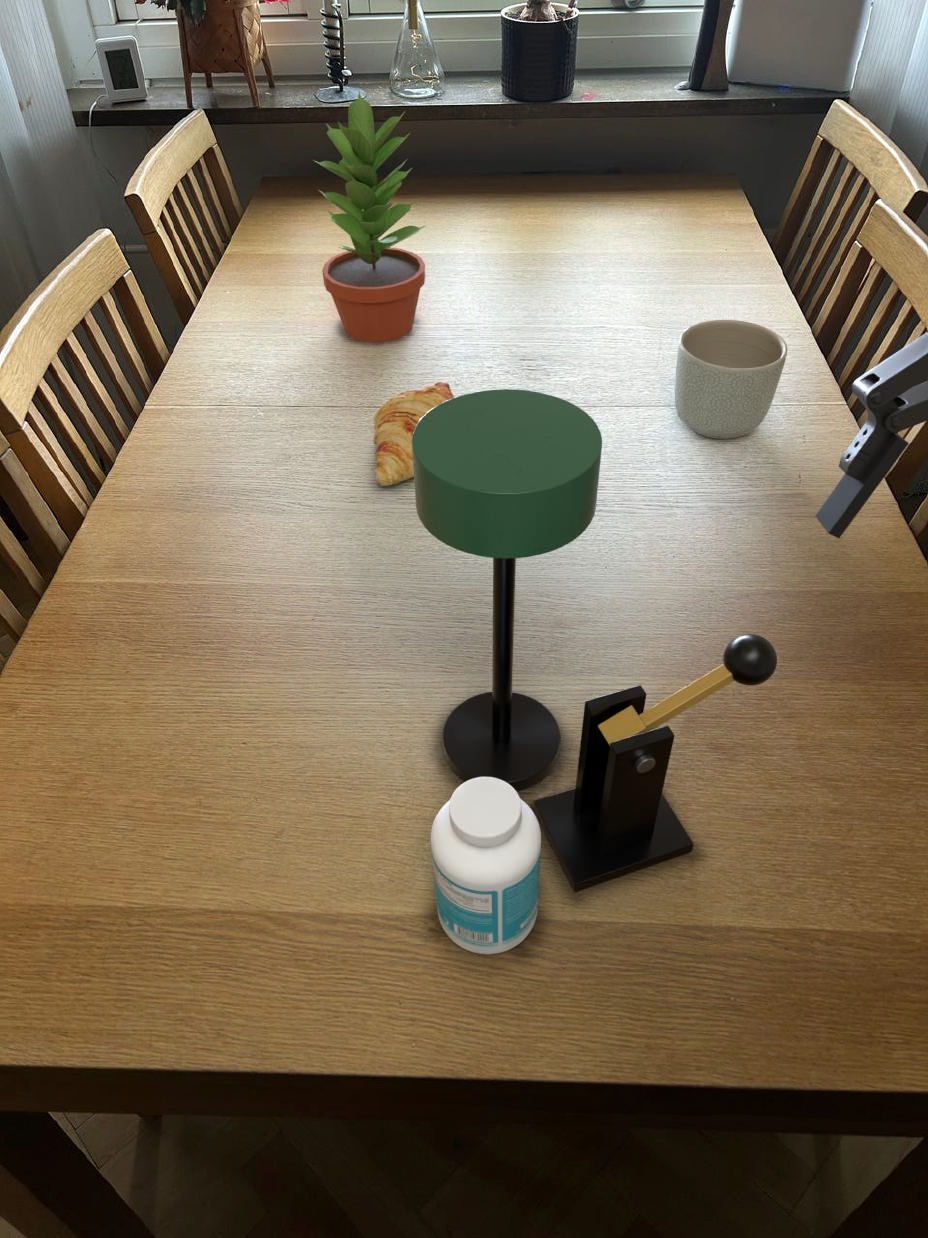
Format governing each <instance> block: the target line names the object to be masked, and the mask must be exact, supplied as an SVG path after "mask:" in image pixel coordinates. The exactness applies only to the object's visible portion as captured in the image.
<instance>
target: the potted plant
mask: <svg viewBox="0 0 928 1238" xmlns="http://www.w3.org/2000/svg"><path fill="white" fill-rule="evenodd" d="M405 113H406V111H403V112H402V114H401V115H400V116H397V115H396V116H391V117H389V118H388V119H386V121H385V122H384V123H383V124H381V127H380V128H379V129H378V130H377V131H376V133H375V122H374V121H375V119H374V113H373V109H372V106H371V104H370V102H369V101H367V100H365V99H363V97H362V95H361V91H358V96H357V99H355V100H353V101H352V102H351V103H350V104H349V106H348V112H347V115H348V116H347V118H348V119H347V120H348V121H347V122H348V127H345V126H344V125H342V123H340V121H337V124H338V128H332V127H331V126H330V125H329V124H328V123H325V124H326V126H327V129H328V131H327V136H328V138H329V139H330V141H331V142H332V143H333V145H334V146H335V147H336V149H337V150H338V152H339V153H340V155H341V157H342V159H341V160H340V161H338V163H337V162H334V161H330V160H323V161H320V162H319V161H316V160H314V159H312V161H313V162H315V163H317V164H319V165H320V166H321V167H323V168H325V169H327V170H328V171H330V172H331V173H333V174H335V175H337V176H339V177H340V178H342V179H344V182H345V184H344V186H345V187H344V189H345V192H346V195H347V196H348V198H347V197H346V196H344V195H342V194H340V193H338V192H335V191H327V192H323V191H321V190H320V189H318V192H319V193H320V194H322V195H323V196H324V197H325V198H326V199H327V201H330V202H331V203H332V204H334V205H335V206H336V208H339V209H340V210H341V211H343V212H344V213H343V212H340V213H333V212H331V211H330V210H327V212H328V213H329V214H330V220H331V221H332V222H333V223H334V224H336V225H337V226H338V227H339V228H340V229H341V230H343V231H344V232H345V233H346V234H347V235H349V237H350V240H351V242H352V246H353V247H354V248H352V247H349V246H346V245H339V246H338V248H339V249H340V250H341V249H342V250H345V251H343V252H340V253H339V254H336V255H334V256H332V257H330V258H329V259H328V260H327V261H326V262H324V265H323V267H322V270H321V271H322V281H323V285H324V288H325V290H326V292H328V293H329V294H330V295H331V297H332V300H333V302H334V303H333V304H334V306H335V308H336V310H337V313H338V317H339V318H340V321H341V323H342V326H343V328H344V331H345V334H346V335H348V336H349V337H350V338H352V339H355V340H357V341H359V342H367V343H384V342H385V343H386V342H392V341H395V340H398V339H401V338H403V337H404V336H406V335H409V334H410V332H411V331H412V329H413V327H414V321H415V316H416V311H417V306H418V301H419V297H420V293H421V288H422V287H423V286H424V285H425V284H426V283H425V282H426V263H425V262H424V260H423V259H422V257H421V256H419V255H417V254H416V253H414V252H413V251H409V250H406V249H403V248H399V247H398V248H397V247H392V246H395V245H397V244H399V243H400V242H402V241H404V240H406V239H408V238H410V237H413V236H415V235H416V234H417V233H419V232H420V231H421V230H422V229H423V228H425V227H427V224H426V225H422V226H420V227H418V226H416V225H407V226H403V227H400V228H399V229H396V230H394V231H392V232H390V233H388V234H386V235H384V234H385V233H386V232H388V231H389V230H391V228H392V227H393V226H394V225H395V224H397V223H398V222H399V221H400V220H401V219H403V218H404V216H406V215H407V213H409V212H410V211H411V210H412V206H413V205H414V203H415V202H416V199H415V200H413V201H412V202H410V203H396V204H395V202H396V200H395V201H393V202H392V201H391V199H392V198H393V196H394V195H395V194H396V192H397V191H398V190H399V188H400V187H401V186H402V181H403V180H404V179H405V178H406V177H407V175H408V174H409V173H410V172H411V170H413V167H410V168H409V169H408V170H406V171H402V170H401V171H400V169H401V168H402V167H403V166H404V165H405V162H407V159H406V160H404V161H403V162H402V163H401V164H400V165H399V166H397V167H396V168H395V169H393V170H392V171H391V172H390V173H389V174H388V175H387V176H386V177H385V178H384V179H383V180H381V182H379V184H377V183H378V175H377V169H379V168H380V167H381V165H383V163H384V162H385V161H386V160H387V159H388V158H389V157H390V156H391V155H392V154H393V153H394V152H395V151H396V150H397V149H398V148H399V147H400V145H401V144H402V143H403V142H404V141H405V140H406V139H407V138H408V136H409V135H410V134H411V132H409V133H408V134H407V135H405V136H404V137H403V136H394V137H392V138H391V139H390V140H388V141H386V139H387V138H388V137H389V135H390V134H391V133H392V131H393V130H394V128H395V127H396V125H397V124H398V122H400V120H401V119H402V117H403V116H404V114H405ZM385 141H386V143H384V142H385ZM383 144H384V145H383ZM394 204H395V205H394ZM383 235H384V237H383ZM381 237H382V238H381ZM379 238H381V239H379Z"/></svg>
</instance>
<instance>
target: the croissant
mask: <svg viewBox="0 0 928 1238" xmlns="http://www.w3.org/2000/svg"><path fill="white" fill-rule="evenodd" d="M452 398H455V395H454V394H453V392H452V390H451V385H450V384H449V382H442V381H437V382H436V383H434V385H430V386H426V387H424V388H423V389H413V390H408V391H404V392H400V393H398V394H396V395H394V396H392V397H390V398H389V399H387V400H386V401H385V402H384V403H382V404H381V406H380V407H379V408H378V409H377V410H376V412H375V413H374V415H373V428H374V430H375V431H374V436H373V444H374V445H375V446H376V452H375V454H374V461H375V462H376V468H375V470H374V474H375V480H376V482H377V483H378V484H379V485H380V486H382V487H383V486H384V487H388V486H393V485H397V484H399V483H401V482H403V481H407V480H410V479H412V478H414V469H413V454H412V436H413V432H414V429H415V427H416V425H417V424H418V422H419V421H420V420H421V418H422V417H423V416H424V415H425V414H426V413H427V412H429V411H430V410H431V409H433V408H434V407H436V406H437V405H439V404H441V403H443V402H445V401H447V400H450V399H452Z"/></svg>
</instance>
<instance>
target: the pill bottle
mask: <svg viewBox="0 0 928 1238" xmlns="http://www.w3.org/2000/svg"><path fill="white" fill-rule="evenodd" d="M430 851H431V860H432V871H433V881H434V890H435V902H436V910H437V916H438V921H439V923H440V925H441V927H442V929H443V931H444V933H445V934H446V936H447V937H448V938H449V939H450V940H451V941H452V942H453V943H454V944H456V945H457V946H458V947H460V948H462V949H464V950H466V951H467V952H468V951H469V952H471V953H474V954H478V955H495V954H501V953H504V952H507V951H509V950H512V949H513V948H515V947H517V946H518V945H519V944H521V943H522V942H523V941H524V940H525V939H526V938H527V937H528V935H529V934H530V933H531V931H532V930H533V928H534V925H535V923H536V920H537V917H538V909H539V893H540V891H539V890H540V872H541V871H540V870H541V869H540V868H541V851H542V832H541V827H540V822H539V820H538V818H537V816H536V814H535V812H534V810H533V809H532V808H530V806H529V805H528V804H527V803H526V802H525V801H524V800H522V799H521V798H520V795H519V794H518V791H517V792H516V790H515V789H514V788H513V787H512V786H511V785H509V784H508V783H506V782H505V781H503V780H500V779H497V778H493V777H477V778H474V779H470V780H468V781H466V782H464V781H463V783H462V784H461V783H460V785H459V786H458V787H457V788H456V789H455V790H454V792H453V793H452V795H451V797H450V799H449V800H448V801H447V802H445V804H444V805H443V806H442V807H441V808H440V810H439V811H438V813H437V814H436V816H435V818H434V820H433V822H432V826H431V830H430Z"/></svg>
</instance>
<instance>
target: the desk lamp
mask: <svg viewBox="0 0 928 1238" xmlns="http://www.w3.org/2000/svg"><path fill="white" fill-rule="evenodd" d="M602 449H603V438H602V432H601V431H600V428H599V426H598V424H597V423H596V422H595V420H594V418H592V417H591V416H590V415H589V414H588V413H587V412H586V411H585V410H583V408H580V407H579V406H577V405H575V404H574V403H573V402H570V401H568V400H566V399H563V398H560V397H558V396H555V395H552V394H548V393H545V392H540V391H536V390H528V389H517V388H495V389H484V390H479V391H473V392H468V393H465V394H464V393H463V394H461V395H458V396H454V398H452V399H450V400H447V401H445V402H443V403H441V404H439V405H437V406H436V407H434V408H433V409H431V410H430V411H429V412H427V413H426V414H425V415H424V416H423V417H422V418H421V420H420V421H419V422H418V424H417V425H416V427H415V429H414V432H413V436H412V454H413V469H414V477H413V483H414V497H415V498H414V500H415V508H416V514H417V517H418V518H419V521H420V522H421V524H422V525H423V527H424V528H425V529H426V531H428V533H429V534H430V535H432V536H433V537H434V538H435V539H437V540H438V541H439V542H441V543H443V544H445V545H446V546H448V547H451V548H452V549H455V550H456V551H460V552H463V553H466V554H469V555H474V556H477V557H483V558H490V559H492V666H491V667H492V669H491V670H492V672H491V673H492V674H491V677H492V678H491V679H492V680H491V682H492V685H491V688H492V689H491V691H485V692H482V693H478V694H476V695H473V696H471V697H469V698H467V699H465V700H463V701H462V702H461V703H459V704H458V705H457V706H456V707H455V708H453V710H452V711H451V712H450V713H449V715H448V716H447V719H446V721H445V723H444V726H443V731H442V748H443V754H444V758H445V762H446V763H447V765H448V767H449V769H450V770H451V771H452V772H453V774H454V775H455V776H456V777H457V778H458V779H460V780H461V781H463V783H464V782H466V781H468V780H470V779H474V778H477V777H493V778H497V779H500V780H503V781H505V782H506V783H508V784H509V785H511V786H512V787H513V788H514V789H515V790H516V792H517V793H518V792H520V791H524V790H527V789H530V788H531V787H533V786H535V785H537V784H539V783H540V782H542V781H543V780H544V779H545V778H547V776H549V774H550V773H551V772H552V771H553V769H554V768H555V766H556V764H557V762H558V759H559V755H560V749H561V730H560V727H559V724H558V722H557V720H556V718H555V717H554V715H553V713H552V712H551V711H550V710H549V709H548V708H547V707H546V706H545V704H543V703H541V702H539V700H537V699H535V698H533V697H531V696H529V695H526V694H523V693H519V692H515V691H513V676H514V675H513V674H514V673H513V671H514V641H515V639H514V638H515V637H514V636H515V605H516V604H515V601H516V569H517V567H516V565H517V559H523V558H530V557H536V556H540V555H543V554H547V553H550V552H553V551H556V550H559V549H560V548H563V547H565V546H567V545H568V544H570V543H572V542H574V541H575V540H576V539H577V538H579V537H580V536H581V535H582V534H583V533H584V532H585V531H586V530H587V529H588V528H589V526H590V524H592V521H593V519H594V517H595V513H596V510H597V509H596V508H597V501H598V500H597V499H598V490H599V481H600V469H601V459H602Z"/></svg>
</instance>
